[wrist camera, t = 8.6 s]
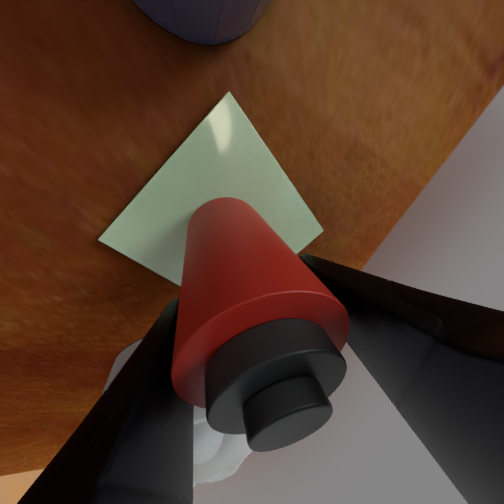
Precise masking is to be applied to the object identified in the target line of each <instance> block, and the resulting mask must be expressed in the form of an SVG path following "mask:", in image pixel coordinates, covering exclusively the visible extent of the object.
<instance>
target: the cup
mask: <svg viewBox="0 0 504 504" xmlns="http://www.w3.org/2000/svg"><path fill="white" fill-rule="evenodd" d="M133 1H134V2H135V3H136V4H137V5H138V6H139V7H140V8H141V10H142V11H143V12H144V13H145V14H146V15H148V16H149V17H150V18H151V19H152V20H154V21H155V22H156V23H157V24H158V25H160V26H161V27H163V28H164V29H166V30H167V31H169V32H170V33H172V34H174V35H176V36H178V37H180V38H182V39H184V40H188V41H191V42H194V43H198V44H206V45H213V44H222V43H225V42H229V41H232V40H234V39H236V38H238V37H240V36H241V35H242V34H244V33H245V32H247V31H248V30H249V29H250V28H251V27H252V26H253V25H254V24H255V23H256V22H257V21H258V19H259V18H260V17H261V15H262V14H263V13H264V11H265V10H266V8H267V6H268V5H269V4H270V3H271V2H272V0H133Z"/></svg>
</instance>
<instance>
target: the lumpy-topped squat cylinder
mask: <svg viewBox="0 0 504 504" xmlns="http://www.w3.org/2000/svg"><path fill="white" fill-rule="evenodd" d="M141 341H142V339H141V340H139V341H137V342H135V343H133V344H132V345H130V346H129V347H127V348H126V349H124V350H123V351H122V352H121V353H120V354H119V355H118V356H117V357H116V359H115V362H114V365H113V367H112V370H111V372H110V375H109V378H108V380H107V383H106V385H105V388H104V391H103V393H104V392H105V390H107V389H108V386H109V385H110V383H111V382H112V381H113V379H114V378H115V377H116V375H117V374H118V372H119V371H120V370H121V368H122V367H123V366H124V364H125V363H126V361H127V360H128V359H129V357H130V356H131V355H132V353H133V352H134V350H135V349H136V348H137V346H138V345H139V344H140V342H141ZM103 393H102V394H103ZM252 451H253V450H251V449H250V448H249V446H248V444H247V439H246V434H239V435H235V434H224V433H220V432H217V431H215V430H213V429H212V428H211V427H210V426H209V424H208V422H207V419H206V409H205V408H200V407H197V406H194V436H193V489H194V487H195V485H196V483H197V482H198V483H209V482H217V481H220V480H222V479H225V478H227V477H229V476H231V475H232V474H233V473H235V472H236V471H237V469H238V468H239V467H240V465H241V463H242V461H243V460H244V459H245V458H246V457H247V456H248V455H249V454H250V453H251V452H252Z"/></svg>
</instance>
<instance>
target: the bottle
mask: <svg viewBox="0 0 504 504" xmlns="http://www.w3.org/2000/svg"><path fill="white" fill-rule="evenodd" d="M349 331H350V320H349V316H348V313H347V311H346V309H345V308H344V306H343V305H342V304H341V303H340V301H339V300H338V299H337V298H336V297H335V296H334V295H333V294H332V293H331V292H330V291H329V290H328V288H327V287H326V286H325V285H324V284H323V283H322V282H321V281H320V280H319V279H318V278H317V277H316V275H315V274H314V273H313V272H312V271H311V270H310V269H309V268H308V267H307V266H306V265H305V264H304V262H303V261H302V260H301V259H300V258H299V257H298V256H297V255H296V254H295V253H294V252H293V251H292V249H291V248H290V247H289V246H288V245H287V244H286V243H285V242H284V241H283V240H282V239H281V238H280V236H279V235H278V234H277V233H276V232H275V231H274V230H273V229H272V228H271V227H270V226H269V225H268V223H267V222H266V221H265V220H264V219H263V218H262V217H261V216H260V215H259V214H258V213H257V212H256V210H255V209H254V208H253V207H252V206H250V205H249V204H248V203H246V202H244V201H242V200H240V199H237V198H232V197H221V198H216V199H213V200H210V201H208V202H206V203H204V204H203V205H201V206H200V207H199V208H198V209H197V210H196V211H195V212H194V214H193V215H192V217H191V219H190V221H189V224H188V229H187V238H186V247H185V255H184V264H183V273H182V281H181V290H180V299H179V307H178V316H177V325H176V333H175V342H174V351H173V359H172V368H171V381H172V385H173V387H174V389H175V391H176V393H177V394H178V395H179V396H180V397H181V398H182V399H183V400H184V401H186V402H188V403H190V404H191V405H194V406H197V407H200V408H205V409H206V419H207V422H208V424H209V426H210V427H211V428H212V429H213V430H215V431H217V432H220V433H224V434H235V435H239V434H246V439H247V444H248V446H249V448H250V449H251V450H253V451H259V452H264V451H271V450H276V449H279V448H282V447H285V446H288V445H290V444H293V443H295V442H297V441H299V440H301V439H303V438H305V437H307V436H309V435H310V434H312V433H314V432H315V431H317V430H318V429H319V428H321V427H322V426H323V425H324V424H325V423H326V422H327V421H328V420H329V418H330V417H331V415H332V413H333V408H332V405H331V403H330V401H329V399H328V397H329V396H330V395H331V394H332V393H333V392H334V391H335V390H336V389H337V387H338V386H339V385H340V383H341V382H342V380H343V379H344V377H345V374H346V369H347V366H346V361H345V359H344V357H343V356H342V354H341V353H340V352H341V350H342V349H343V347H344V345H345V343H346V341H347V338H348V335H349Z"/></svg>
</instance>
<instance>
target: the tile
mask: <svg viewBox="0 0 504 504" xmlns="http://www.w3.org/2000/svg"><path fill="white" fill-rule="evenodd" d="M221 197H232V198H237V199H240V200H242V201H244V202H246V203H248V204H249V205H250V206H252V207H253V208H254V209H255V210H256V212H257V213H258V214H259V215H260V216H261V217H262V218H263V219H264V220H265V221H266V222H267V223H268V225H269V226H270V227H271V228H272V229H273V230H274V231H275V232H276V233H277V234H278V235H279V236H280V238H281V239H282V240H283V241H284V242H285V243H286V244H287V245H288V246H289V247H290V248H291V249H292V251H293V252H294V253H295V254H297V253H299V252H300V251H301V250H302V249H303V248H304V247H306V246H307V245H308V244H309V243H310V242H311V241H313V240H314V239H315V238H316V237H317V236H318V235H320V234H321V233H322V232H323V231H324V230H323V229H322V227H321V226H320V224H319V223H318V221H317V220H316V218H315V217H314V215H313V214H312V212H311V211H310V210H309V208H308V207H307V205H306V204H305V202H304V201H303V199H302V198H301V196H300V195H299V193H298V192H297V190H296V189H295V187H294V186H293V184H292V183H291V181H290V180H289V179H288V177H287V176H286V174H285V173H284V171H283V170H282V168H281V167H280V165H279V164H278V162H277V161H276V159H275V158H274V156H273V155H272V153H271V152H270V151H269V149H268V148H267V146H266V145H265V143H264V142H263V140H262V139H261V137H260V136H259V134H258V133H257V131H256V130H255V128H254V127H253V125H252V124H251V122H250V121H249V120H248V118H247V117H246V115H245V114H244V112H243V111H242V109H241V108H240V106H239V105H238V103H237V102H236V100H235V99H234V97H233V96H232V94H231V93H230V92H229V91H228V92H227V93H226V94H225V96H224V97H223V98H222V99H221V100H220V101H219V102H218V104H217V105H216V106H215V107H214V108H213V109H212V110H211V111H210V113H209V114H208V115H207V116H206V117H205V118H204V119H203V121H202V122H201V123H200V124H199V125H198V126H197V127H196V129H195V130H194V131H193V132H192V133H191V134H190V135H189V136H188V138H187V139H186V140H185V141H184V142H183V143H182V144H181V146H180V147H179V148H178V149H177V150H176V151H175V152H174V153H173V155H172V156H171V157H170V158H169V159H168V160H167V161H166V163H165V164H164V165H163V166H162V167H161V168H160V169H159V171H158V172H157V173H156V174H155V175H154V176H153V177H152V178H151V180H150V181H149V182H148V183H147V184H146V185H145V186H144V188H143V189H142V190H141V191H140V192H139V193H138V194H137V195H136V197H135V198H134V199H133V200H132V201H131V202H130V203H129V205H128V206H127V207H126V208H125V209H124V210H123V211H122V213H121V214H120V215H119V216H118V217H117V218H116V219H115V220H114V222H113V223H112V224H111V225H110V226H109V227H108V228H107V230H106V231H105V232H104V233H103V234H102V235H101V236H100V238H99V239H98V240H99V241H101V242H102V243H104V244H106V245H108V246H109V247H111V248H113V249H115V250H117V251H118V252H120V253H122V254H124V255H125V256H127V257H129V258H131V259H133V260H134V261H136V262H138V263H140V264H141V265H143V266H145V267H147V268H148V269H150V270H152V271H154V272H156V273H157V274H159V275H161V276H163V277H164V278H166V279H168V280H170V281H171V282H173V283H175V284H177V285H179V286H180V287H181V281H182V273H183V264H184V255H185V247H186V238H187V229H188V224H189V221H190V219H191V217H192V215H193V214H194V212H195V211H196V210H197V209H198V208H199V207H200V206H201V205H203V204H204V203H206V202H208V201H210V200H213V199H216V198H221Z"/></svg>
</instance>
